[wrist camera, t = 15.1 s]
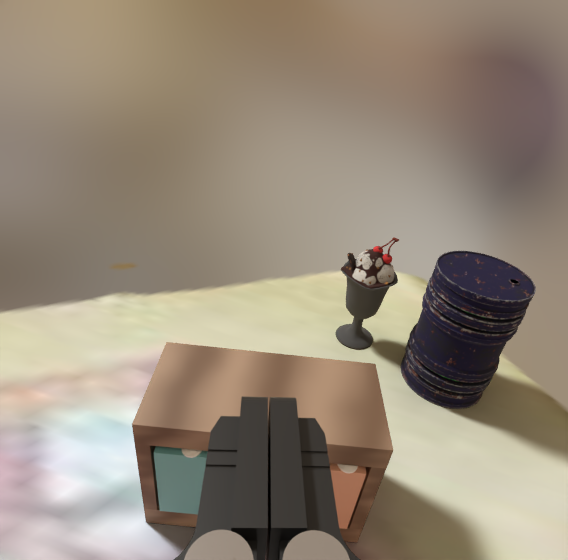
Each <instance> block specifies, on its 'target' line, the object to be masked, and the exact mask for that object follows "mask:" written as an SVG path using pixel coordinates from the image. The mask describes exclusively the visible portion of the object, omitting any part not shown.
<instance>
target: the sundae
mask: <svg viewBox="0 0 568 560" xmlns="http://www.w3.org/2000/svg"><path fill="white" fill-rule="evenodd" d="M393 240H395V241H394V242H393V244H394V243H395V242H397V241H399V239H396V238H393V239H392V240H391V241H393ZM391 241H390V242H391ZM390 242H389V243H390ZM389 243H388V244H389ZM388 244H386V245H388ZM393 244H392V245H393ZM386 245H384V246H386ZM392 245H391V246H392ZM384 246H382V247H380V246H376V247H374V249H372V250H366V251H364V252H362V253H361V254H359V256H358V258H357V259H355V258H354V255H353V253H348V259H349V261H348V262H347V263H346V264H345V265H344V266H343V267H342V268H341V271H342V272H343V273H344V274H345V275H346V276H347V292H346V308H347V309H348V311H349V312H350V313H351V314H352V315H353V316H354V320H353V323H352V324H346V325H343V326H340V327H339V328H338V329H337V330H336V337H337V339H338V340H339V341H340V342H341V343H342V344H343V345H345V346H347V347H350V348H354V349H364V348H366V347H369V346H370V345H371V344H372V341H373V338H372V336H371V334H370V333H369V332H368V331H367V330H366V329H365V328H363V327H362V322H363V319H367V318H369V317H371V316H374V315H375V314H376V312H377V311H378V309H379V307H380V305H381V303H382V301H383V298H384V296H385V294H386V292H387V290H388V289H389V287H390V286H393V285H395V284H396V283H397V281H398V279H397V275H396V273H395V272H394V269H393V266H392V265H391V264H390V262H391V261H392V257H391V256H390V255H389V251H390V247H391V246H390V247H389V249H388V254H385V255H383V253H382V252H383V249H382V248H383V247H384Z"/></svg>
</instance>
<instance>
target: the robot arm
mask: <svg viewBox="0 0 568 560" xmlns="http://www.w3.org/2000/svg"><path fill="white" fill-rule="evenodd" d="M265 555H266V560H360V559H359V558H357V557H356V556H355V555H354V554H353V553H352V552H351V551H350V549H349V548H348V547H347V545H346V544H345V542H344V540H343V538H342V535H341V533H340V529H339V523H338V516H337V510H336V503H335V497H334V490H333V483H332V477H331V470H330V463H329V457H328V450H327V444H326V437H325V433H324V431H323V430H322V428H321V427H320V425H319V423H318V422H317V420H316V419H315V418H298V411H297V400H296V398H290V397H270V400H269V414H268V397H248V396H242V398H241V409H240V416H221V417H220V418H219V420H218V421H217V423H216V424H215V426H214V427H213V429H212V430H211V432H210V439H209V445H208V453H207V458H206V466H205V471H204V478H203V484H202V491H201V497H200V504H199V510H198V516H197V523H196V528H195V532H194V535H193V537H192V539H191V541H190V543H189V545H188V546H187V547H186V549H185V550H184V551H183V552H182V553H181V554H180V555H179V556H178V557H177V558H175V559H174V560H265Z"/></svg>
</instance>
